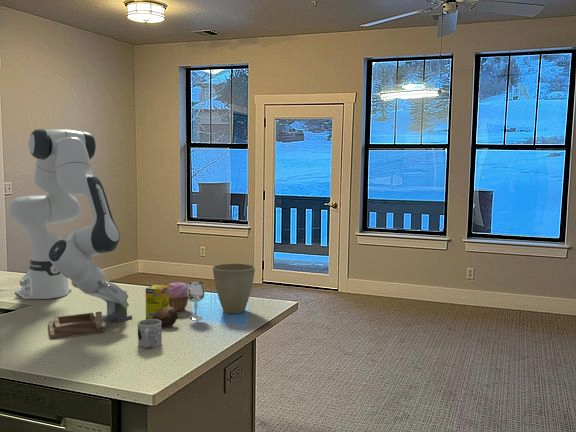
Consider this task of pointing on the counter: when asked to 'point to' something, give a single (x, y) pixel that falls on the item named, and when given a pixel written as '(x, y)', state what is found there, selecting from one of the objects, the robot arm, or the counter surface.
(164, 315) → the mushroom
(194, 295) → the wineglass
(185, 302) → the cupcake
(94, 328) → the brown wooden square tray
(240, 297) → the plant pot
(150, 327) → the mug
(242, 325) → the counter surface
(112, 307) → the grey block on base
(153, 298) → the supplement box
